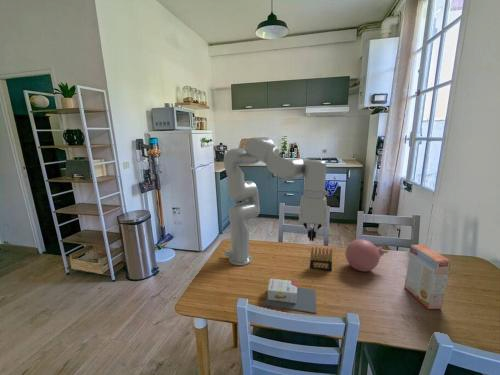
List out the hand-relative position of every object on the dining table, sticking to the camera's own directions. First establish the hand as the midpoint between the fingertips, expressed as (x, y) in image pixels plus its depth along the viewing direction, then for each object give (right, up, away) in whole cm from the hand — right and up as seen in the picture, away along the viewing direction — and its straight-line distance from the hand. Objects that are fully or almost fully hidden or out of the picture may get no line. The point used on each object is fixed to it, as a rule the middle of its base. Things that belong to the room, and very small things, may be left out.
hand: (311, 239), depth 93 cm
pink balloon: (+34, -21, +28) cm, 49 cm away
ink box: (-4, -23, +7) cm, 25 cm away
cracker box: (+48, -26, +7) cm, 55 cm away
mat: (-7, -26, +8) cm, 28 cm away
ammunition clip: (+12, -21, +29) cm, 38 cm away
